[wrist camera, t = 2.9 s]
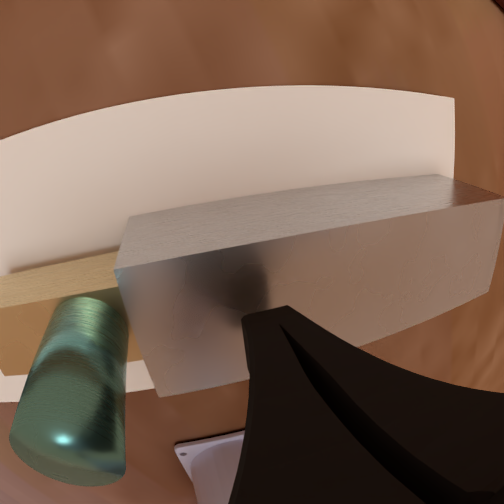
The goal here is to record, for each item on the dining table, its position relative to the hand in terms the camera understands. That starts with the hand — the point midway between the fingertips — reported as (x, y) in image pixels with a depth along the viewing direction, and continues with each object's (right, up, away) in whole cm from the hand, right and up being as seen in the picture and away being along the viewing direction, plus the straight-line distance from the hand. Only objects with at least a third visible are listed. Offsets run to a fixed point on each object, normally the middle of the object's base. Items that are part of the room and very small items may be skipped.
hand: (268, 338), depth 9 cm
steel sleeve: (+3, +3, +6) cm, 7 cm away
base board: (-5, +2, +5) cm, 8 cm away
